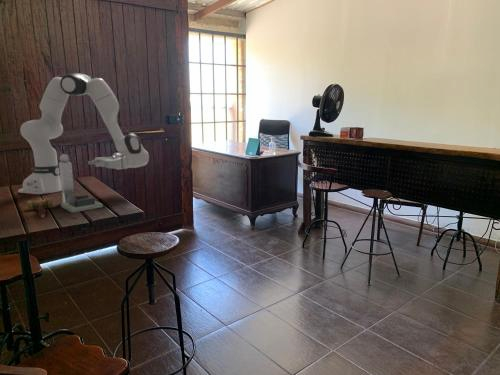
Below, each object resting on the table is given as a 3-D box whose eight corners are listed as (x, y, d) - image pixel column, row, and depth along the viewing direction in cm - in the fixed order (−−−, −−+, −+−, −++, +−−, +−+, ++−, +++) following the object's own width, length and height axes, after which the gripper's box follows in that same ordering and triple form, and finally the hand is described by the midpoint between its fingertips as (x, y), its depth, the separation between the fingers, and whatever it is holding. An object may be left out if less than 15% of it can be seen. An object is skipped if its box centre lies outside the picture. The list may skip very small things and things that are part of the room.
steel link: (72, 201, 190) (67, 153, 185) (75, 203, 187) (70, 154, 182) (63, 202, 187) (57, 154, 182) (65, 204, 184) (60, 154, 179)
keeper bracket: (90, 201, 190) (89, 187, 189) (103, 207, 180) (101, 192, 179) (61, 206, 181) (59, 192, 179) (72, 212, 171) (70, 197, 169)
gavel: (55, 210, 164) (28, 213, 159) (56, 220, 165) (30, 224, 160) (51, 197, 181) (27, 199, 176) (52, 206, 182) (28, 209, 177)
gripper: (110, 153, 207) (84, 155, 198) (126, 156, 192) (98, 159, 183) (111, 164, 208) (85, 167, 200) (127, 169, 193) (100, 172, 184)
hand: (91, 163), depth 191 cm, fingers open, 8 cm apart
